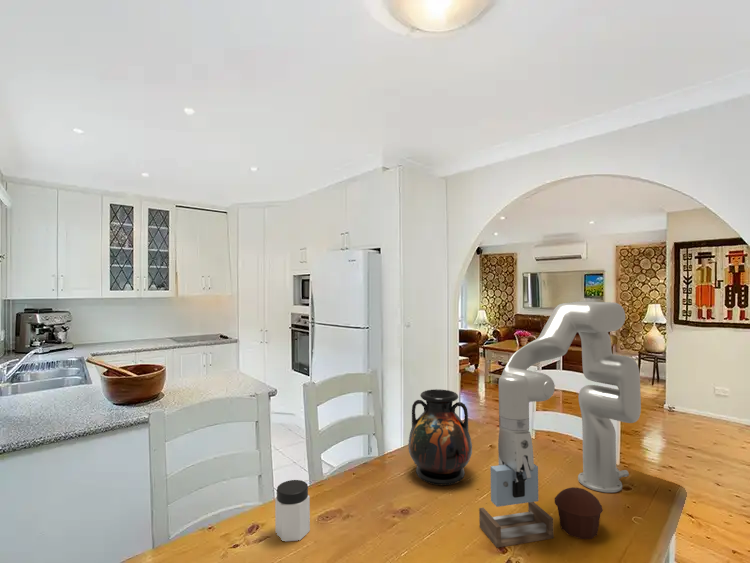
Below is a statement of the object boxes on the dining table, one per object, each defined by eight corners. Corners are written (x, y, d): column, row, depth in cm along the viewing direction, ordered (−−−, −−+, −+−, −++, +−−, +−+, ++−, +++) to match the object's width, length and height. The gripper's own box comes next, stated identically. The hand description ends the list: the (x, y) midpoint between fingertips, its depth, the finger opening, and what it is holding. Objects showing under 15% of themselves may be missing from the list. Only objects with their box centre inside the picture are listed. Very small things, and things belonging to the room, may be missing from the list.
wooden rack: (532, 518, 113) (532, 500, 113) (553, 538, 104) (553, 518, 104) (479, 526, 110) (479, 508, 110) (496, 547, 101) (496, 527, 101)
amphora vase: (403, 487, 132) (402, 400, 132) (413, 459, 153) (412, 384, 153) (472, 494, 127) (471, 404, 127) (472, 465, 147) (471, 387, 148)
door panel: (531, 495, 110) (531, 461, 110) (539, 501, 106) (538, 467, 107) (490, 500, 107) (490, 466, 107) (497, 507, 104) (497, 472, 104)
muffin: (575, 545, 101) (575, 505, 101) (545, 521, 112) (544, 484, 112) (613, 537, 105) (613, 498, 105) (580, 514, 115) (580, 478, 115)
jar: (310, 522, 113) (310, 478, 113) (308, 540, 104) (308, 493, 105) (277, 524, 112) (277, 480, 112) (273, 543, 104) (272, 495, 104)
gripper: (546, 432, 100) (547, 507, 100) (509, 412, 116) (510, 477, 116) (518, 434, 99) (519, 511, 98) (485, 414, 114) (486, 480, 114)
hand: (514, 492), depth 107 cm, fingers closed on door panel, 3 cm apart
